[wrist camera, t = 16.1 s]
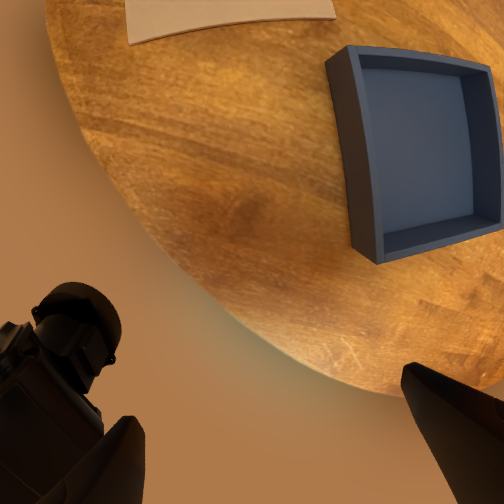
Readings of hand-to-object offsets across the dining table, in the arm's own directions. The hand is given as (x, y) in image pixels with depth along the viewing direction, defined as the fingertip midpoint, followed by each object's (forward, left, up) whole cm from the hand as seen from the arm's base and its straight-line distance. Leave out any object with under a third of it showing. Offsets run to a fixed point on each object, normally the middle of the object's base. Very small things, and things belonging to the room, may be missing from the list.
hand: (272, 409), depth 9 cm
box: (+15, +6, -13) cm, 21 cm away
